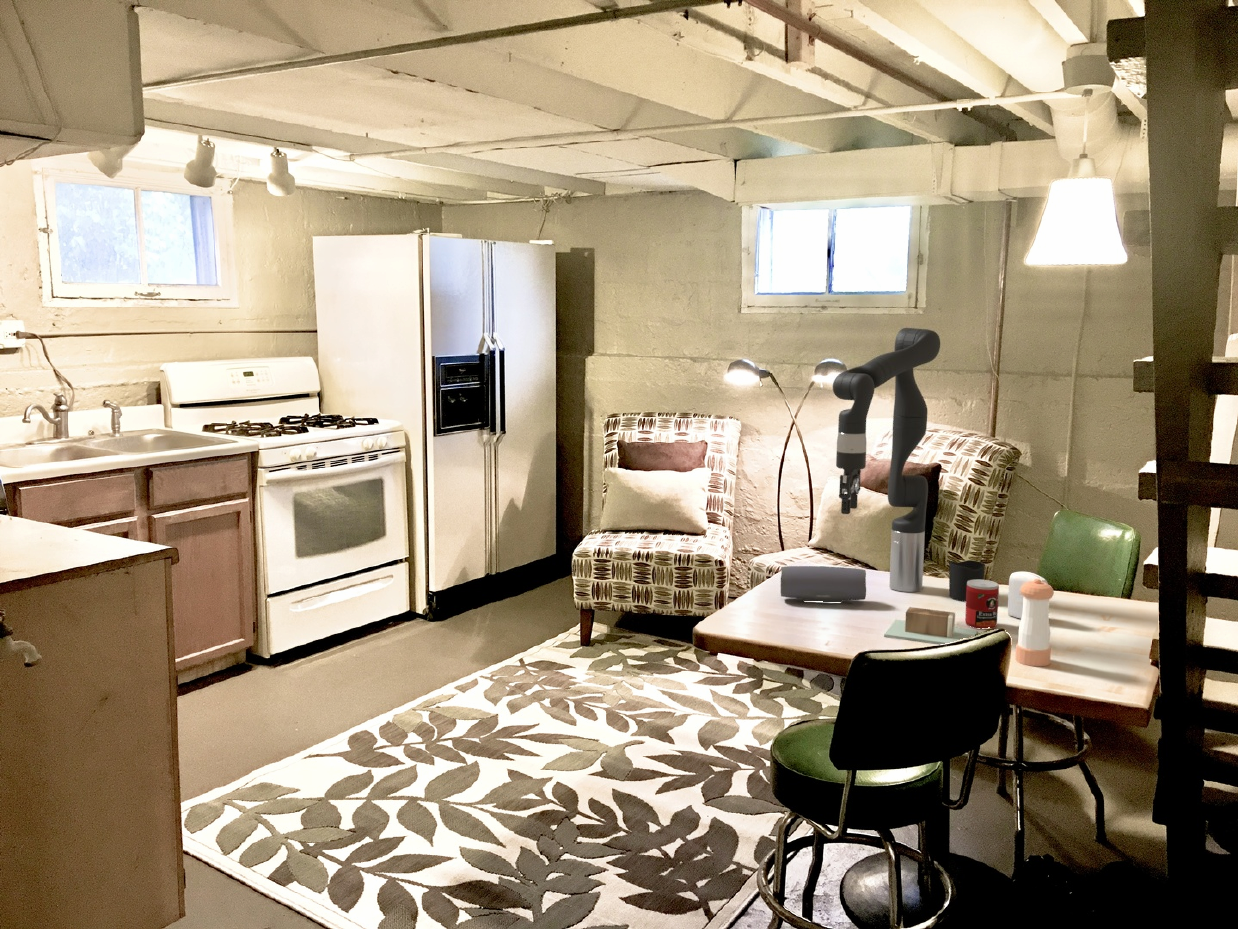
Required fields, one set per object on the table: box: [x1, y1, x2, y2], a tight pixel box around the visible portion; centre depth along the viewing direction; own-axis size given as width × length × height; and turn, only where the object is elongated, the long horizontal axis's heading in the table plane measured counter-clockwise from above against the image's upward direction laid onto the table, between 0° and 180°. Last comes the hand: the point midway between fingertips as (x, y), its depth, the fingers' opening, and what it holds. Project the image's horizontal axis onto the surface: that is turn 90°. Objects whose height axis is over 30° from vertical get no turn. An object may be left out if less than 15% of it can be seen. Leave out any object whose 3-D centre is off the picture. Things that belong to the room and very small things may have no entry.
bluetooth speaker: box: [780, 565, 867, 603], centre depth 273 cm, size 23×9×10 cm, turn 82°
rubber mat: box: [883, 619, 978, 645], centre depth 244 cm, size 14×20×1 cm
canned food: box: [964, 579, 1000, 630], centre depth 252 cm, size 8×8×11 cm
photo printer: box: [1007, 571, 1049, 620], centre depth 257 cm, size 10×4×12 cm, turn 29°
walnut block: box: [904, 606, 956, 638], centre depth 244 cm, size 5×5×11 cm
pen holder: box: [948, 559, 986, 602], centre depth 277 cm, size 9×9×10 cm
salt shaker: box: [1015, 579, 1055, 667], centre depth 224 cm, size 7×7×19 cm
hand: (849, 511), depth 260 cm, fingers open, 8 cm apart
